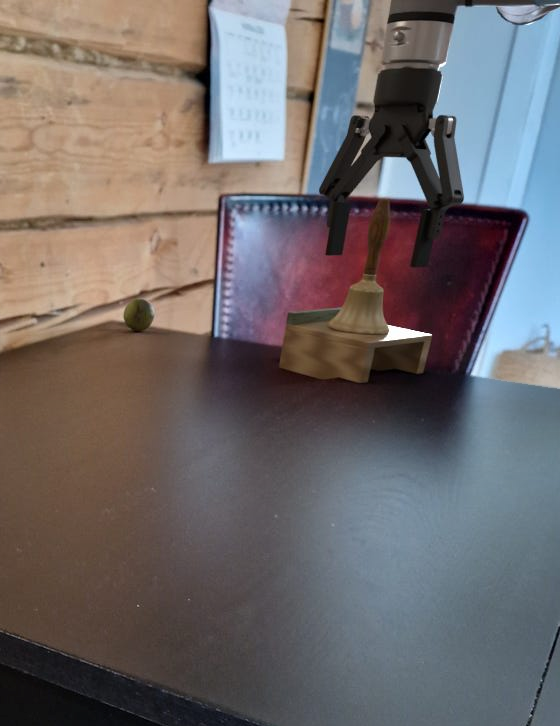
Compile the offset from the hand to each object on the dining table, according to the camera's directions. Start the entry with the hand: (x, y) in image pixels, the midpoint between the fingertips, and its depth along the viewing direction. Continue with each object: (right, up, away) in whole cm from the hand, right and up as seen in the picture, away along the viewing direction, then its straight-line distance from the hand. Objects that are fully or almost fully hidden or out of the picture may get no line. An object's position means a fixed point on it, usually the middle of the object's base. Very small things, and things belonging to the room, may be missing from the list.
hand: (374, 261), depth 113 cm
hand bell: (-1, -8, +5) cm, 9 cm away
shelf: (-1, -13, +7) cm, 15 cm away
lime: (-29, 0, +27) cm, 40 cm away
